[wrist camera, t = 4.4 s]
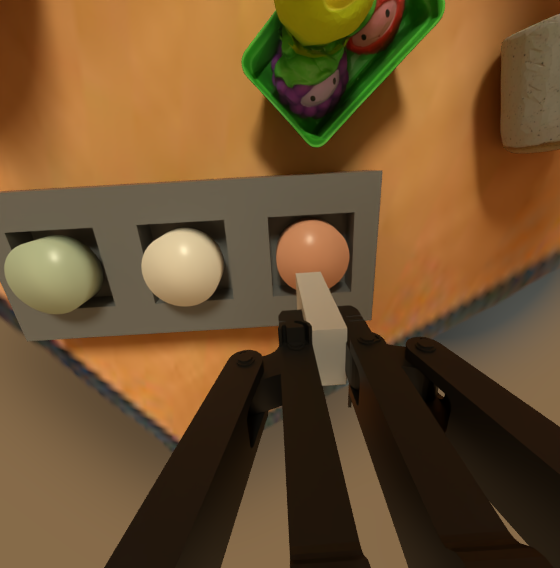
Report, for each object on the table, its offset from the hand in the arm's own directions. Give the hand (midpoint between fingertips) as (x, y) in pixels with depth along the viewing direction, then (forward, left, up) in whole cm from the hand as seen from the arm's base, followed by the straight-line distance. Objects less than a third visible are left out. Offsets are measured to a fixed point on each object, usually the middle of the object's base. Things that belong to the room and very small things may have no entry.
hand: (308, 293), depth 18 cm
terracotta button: (0, +1, -9) cm, 9 cm away
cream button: (0, -9, -8) cm, 12 cm away
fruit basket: (-15, +3, -12) cm, 19 cm away
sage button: (0, -20, -8) cm, 21 cm away
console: (0, -9, -11) cm, 15 cm away
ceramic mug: (-12, +21, -12) cm, 27 cm away
